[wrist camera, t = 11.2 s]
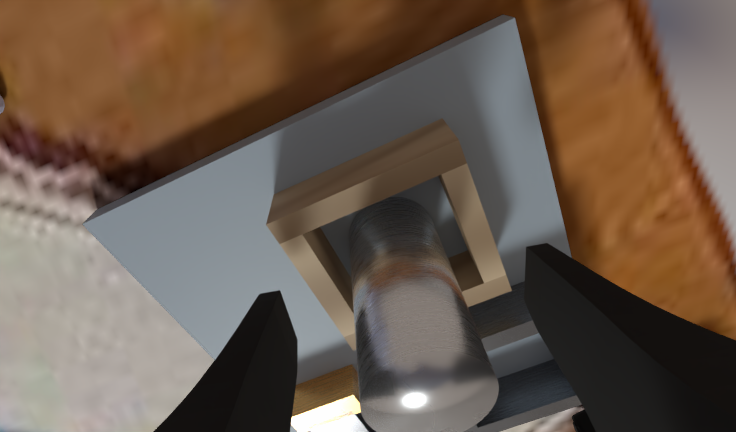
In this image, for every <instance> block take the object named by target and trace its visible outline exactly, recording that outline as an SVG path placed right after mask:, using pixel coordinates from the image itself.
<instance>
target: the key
mask: <svg viewBox="0 0 736 432" xmlns="http://www.w3.org/2000/svg"><path fill="white" fill-rule="evenodd" d="M291 424H292V426H293V427H294V428H295V429H296V430H297V431H298V432H306V431H309V430H310V431H311V432H376V431H375V430H373V429H372V428H371V427H370V426H369V425H368V424H367V423H366V421H365V420H364V418H363V416H362V414H361V410H360V399H359V384H358V372H357V371H356V369H355V368H354V367H353V365H352V364H351V365H349V366H346V367H343V368H341V369H338V370H335V371H332V372H330V373H327V374H324V375H322V376H319V377H316V378H314V379H311V380H308V381H306V382H303V383H300V384H298V385H296V388H295V396H294V404H293V412H292V420H291Z"/></svg>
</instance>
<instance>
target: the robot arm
mask: <svg viewBox="0 0 736 432" xmlns="http://www.w3.org/2000/svg"><path fill="white" fill-rule="evenodd" d="M4 107H5V104H4V101H3V98H2V97H1V95H0V114H1V113H2V112H3V111H4ZM524 301H525V304H526V306H527V308H528V311H529V313H530V315H531V318H532V320H533V322H534V324H535V326H536V329H537V331H538V332H539V334H540V336H541V338H542V339H543V341H544V343H545V344H546V346H547V348H548V349H549V351H550V353H551V354H552V356H553V357H554V359H555V361H556V362H557V364H558V366H559V367H560V369H561V371H562V372H563V374H564V375H565V377H566V379H567V380H568V382H569V384H570V385H571V387H572V389H573V390H574V392H575V393H576V395H577V397H578V398H579V400H580V402H581V404H582V405H583V407H584V409H585V411H586V413H587V414H588V416H589V418H590V421H591V423H592V425H593V427H594V429H595V431H596V432H736V340H733V339H731V338H728V337H725V336H723V335H720V334H717V333H715V332H712V331H710V330H708V329H705V328H703V327H700V326H698V325H696V324H693V323H691V322H689V321H687V320H684V319H682V318H680V317H678V316H676V315H673V314H671V313H669V312H667V311H665V310H663V309H661V308H659V307H657V306H654V305H652V304H651V303H649V302H647V301H645V300H643V299H641V298H639V297H637V296H635V295H633V294H632V293H630V292H628V291H626V290H624V289H623V288H621V287H619V286H617V285H615V284H614V283H612V282H610V281H608V280H607V279H605V278H603V277H602V276H600V275H598V274H597V273H595V272H593V271H592V270H590V269H589V268H587V267H585V266H584V265H582V264H580V263H579V262H577V261H576V260H574V259H572V258H571V257H569V256H568V255H566V254H565V253H563V252H561V251H560V250H558V249H556V248H555V247H553V246H552V245H550V244H548V243H544V244H539V245H533V246H527V247H526V260H525V285H524ZM297 366H298V339H297V337H296V334H295V331H294V328H293V325H292V322H291V320H290V317H289V314H288V311H287V308H286V305H285V303H284V300H283V297H282V294H281V291H280V290H278V291H272V292H266V293H261V294H259V295H258V297H257V298H256V300H255V301H254V303H253V304H252V306H251V307H250V309H249V310H248V312H247V314H246V315H245V317H244V318H243V320H242V321H241V323H240V324H239V326H238V327H237V329H236V331H235V332H234V334H233V335H232V336H231V338H230V339H229V341H228V342H227V344H226V345H225V347H224V348H223V350H222V351H221V353H220V354H219V355H218V357H217V358H216V359H215V361H214V362H213V363H212V365H211V366H210V367H209V369H208V370H207V371H206V373H205V374H204V375H203V377H202V378H201V379H200V381H199V382H198V383H197V384H196V386H195V387H194V388H193V389H192V390H191V392H190V393H189V394H188V395H187V396H186V398H185V399H184V400H183V401H182V402H181V403H180V404H179V405H178V407H177V408H176V409H175V410H174V411H173V412H172V413H171V414H170V415H169V416H168V418H167V419H166V420H165V421H164V422H163V423H162V424H161V425H160V426H159V427H158V428H157V429H156V430H155V431H154V432H290V427H291V420H292V412H293V404H294V396H295V388H296V380H297Z"/></svg>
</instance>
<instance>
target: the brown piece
mask: <svg viewBox="0 0 736 432" xmlns="http://www.w3.org/2000/svg"><path fill="white" fill-rule="evenodd" d="M437 176H439V179H440V181H441V184H442V186H443V189H444V191H445V194H446V196H447V199H448V201H449V204H450V206H451V209H452V211H453V214H454V216H455V219H456V221H457V224H458V226H459V229H460V231H461V234H462V236H463V239H464V241H465V244H466V246H467V249H468V250H467V251H465V252H462V253H460V254H457V255H455V256H452V257H450V258H448V260H449V262H450V265H451V267H452V270H453V272H454V274H455V277H456V279H457V282H458V284H459V287H460V289H461V292H462V294H463V296H464V299H465V301H466V304H467V306H468V307H470V306H473V305H475V304H478V303H481V302H483V301H486V300H489V299H491V298H494V297H496V296H499V295H502V294H504V293H507V292H510V291H512V289H511V287H510V284H509V281H508V278H507V275H506V272H505V270H504V267H503V264H502V261H501V258H500V255H499V253H498V250H497V247H496V244H495V241H494V238H493V236H492V233H491V230H490V227H489V224H488V221H487V219H486V216H485V213H484V210H483V207H482V204H481V202H480V199H479V196H478V193H477V190H476V187H475V185H474V182H473V179H472V176H471V173H470V170H469V168H468V165H467V162H466V159H465V156H464V153H463V151H462V148H461V145H460V142H459V139H458V138H457V137H456V135H455V134H454V133H453V131H452V130H451V129H450V128H449V126H448V125H447V124H446V122H445V121H444V120H443V118H442V119H439V120H437V121H435V122H433V123H431V124H428V125H426V126H424V127H422V128H419V129H417V130H415V131H413V132H411V133H408V134H406V135H404V136H402V137H400V138H397V139H395V140H393V141H391V142H389V143H386V144H384V145H382V146H380V147H377V148H375V149H373V150H371V151H369V152H366V153H364V154H362V155H360V156H358V157H355V158H353V159H351V160H349V161H347V162H344V163H342V164H340V165H338V166H335V167H333V168H331V169H329V170H327V171H324V172H322V173H320V174H318V175H316V176H313V177H311V178H309V179H307V180H305V181H302V182H300V183H298V184H296V185H293V186H291V187H289V188H287V189H285V190H282V191H280V192H278V193H276V194H274V195H273V199H272V203H271V207H270V211H269V215H268V219H267V223H266V226H267V227H268V228H269V230H270V231H271V233H272V234H273V236H274V237H275V239H276V240H277V241H278V243H279V244H280V246H281V247H282V249H283V250H284V252H285V253H286V254H287V256H288V257H289V259H290V260H291V262H292V263H293V265H294V266H295V267H296V269H297V270H298V272H299V273H300V275H301V276H302V277H303V279H304V280H305V282H306V283H307V285H308V286H309V288H310V289H311V290H312V292H313V293H314V295H315V296H316V298H317V299H318V301H319V302H320V303H321V305H322V306H323V308H324V309H325V311H326V312H327V314H328V315H329V316H330V318H331V319H332V321H333V322H334V324H335V325H336V327H337V328H338V329H339V331H340V332H341V334H342V335H343V337H344V338H345V339H346V341H347V342H348V344H349V345H350V347H351V348H352V350H356V339H355V324H354V309H353V293H352V278H351V277H350V275H349V274H348V272H347V270H346V269H345V267H344V265H343V264H342V262H341V261H340V259H339V257H338V256H337V254H336V252H335V251H334V249H333V247H332V246H331V244H330V243H329V241H328V239H327V238H326V236H325V234H324V233H323V231H322V230H321V228H320V227H321V226H323V225H325V224H328V223H330V222H332V221H335V220H337V219H339V218H342V217H344V216H346V215H349V214H351V213H353V212H355V211H358V210H360V209H362V208H365V207H367V206H369V205H372V204H374V203H376V202H379V201H381V200H383V199H386V198H388V197H390V196H393V195H395V194H397V193H400V192H402V191H404V190H406V189H409V188H411V187H413V186H416V185H418V184H420V183H423V182H425V181H427V180H430V179H432V178H434V177H437Z"/></svg>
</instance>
